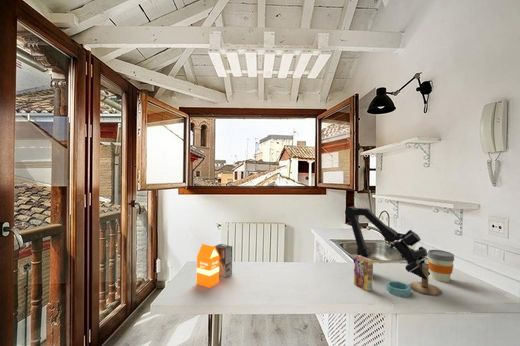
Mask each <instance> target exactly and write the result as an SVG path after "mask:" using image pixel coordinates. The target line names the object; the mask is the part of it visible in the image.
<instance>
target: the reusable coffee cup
mask: <svg viewBox="0 0 520 346" xmlns="http://www.w3.org/2000/svg"><path fill="white" fill-rule="evenodd" d="M427 253H428V255H427V264H429V272H430V275H429V276H430V278H431V279H432V280H435V281H437V282H442V283H443V282H444V283H448V282H450V281H451V275H452V273H453V271H454V261H455V254H454V253H451V252H449V251H446V250H440V249H429V250H427Z"/></svg>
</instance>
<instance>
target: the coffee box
mask: <svg viewBox="0 0 520 346" xmlns="http://www.w3.org/2000/svg"><path fill="white" fill-rule="evenodd" d="M213 246H214V247H215V248H216V250H217V252H218V254H219V277H223V278H227V277H230V276H231V274H232V275H233V246H232V245H227V244H223V243H220V244H216V245H213Z"/></svg>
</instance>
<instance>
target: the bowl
mask: <svg viewBox="0 0 520 346" xmlns="http://www.w3.org/2000/svg"><path fill="white" fill-rule="evenodd" d="M408 285H409V284H407V283H404V282H401V281H396V280H395V281H392V280H390V281H388V282H386V291H387V292H388V293H389V294H391V295H394V296H396V297H406V298H407V297H409V296H410V295H411V291H412V290H411V288H410V287H409V286H408Z"/></svg>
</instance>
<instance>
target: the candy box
mask: <svg viewBox="0 0 520 346" xmlns="http://www.w3.org/2000/svg"><path fill="white" fill-rule="evenodd" d="M354 259H355V263H354V269H355V271H354V270H353V271H354V276H353V277H354V278H353V284H354V286H355V287H356V286H357V287H358V288H361V290H362V289H363V290H364V291H372V290H373V282H374V281H373V275H374V259H371V258H370V259H368V258H366V257H363V256H360V255H358V256H357V255H355V256H354Z"/></svg>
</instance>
